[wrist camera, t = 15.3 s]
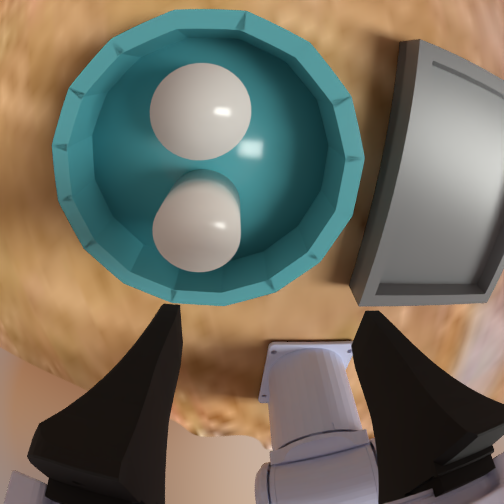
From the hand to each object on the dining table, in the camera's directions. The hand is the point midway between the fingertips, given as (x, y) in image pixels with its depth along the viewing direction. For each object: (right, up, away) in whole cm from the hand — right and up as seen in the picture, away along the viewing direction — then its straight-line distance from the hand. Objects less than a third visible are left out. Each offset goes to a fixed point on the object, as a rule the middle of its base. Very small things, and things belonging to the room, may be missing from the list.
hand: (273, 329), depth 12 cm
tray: (+14, +8, +8) cm, 18 cm away
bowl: (-4, +9, +6) cm, 11 cm away
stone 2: (-4, +6, +7) cm, 10 cm away
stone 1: (-3, +11, +4) cm, 12 cm away
